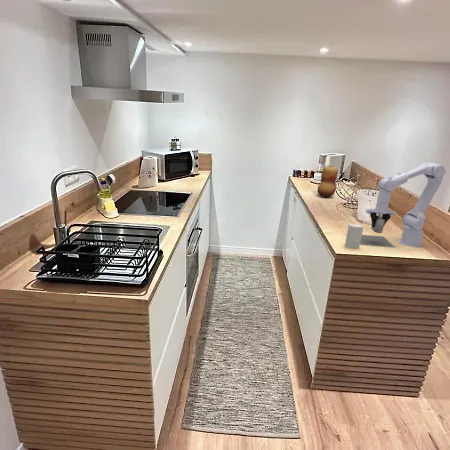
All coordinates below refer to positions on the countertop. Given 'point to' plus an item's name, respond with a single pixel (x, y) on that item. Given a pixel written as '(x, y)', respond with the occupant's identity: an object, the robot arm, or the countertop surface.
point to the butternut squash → (328, 181)
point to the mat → (375, 241)
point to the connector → (379, 224)
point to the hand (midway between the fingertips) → (377, 227)
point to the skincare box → (354, 236)
